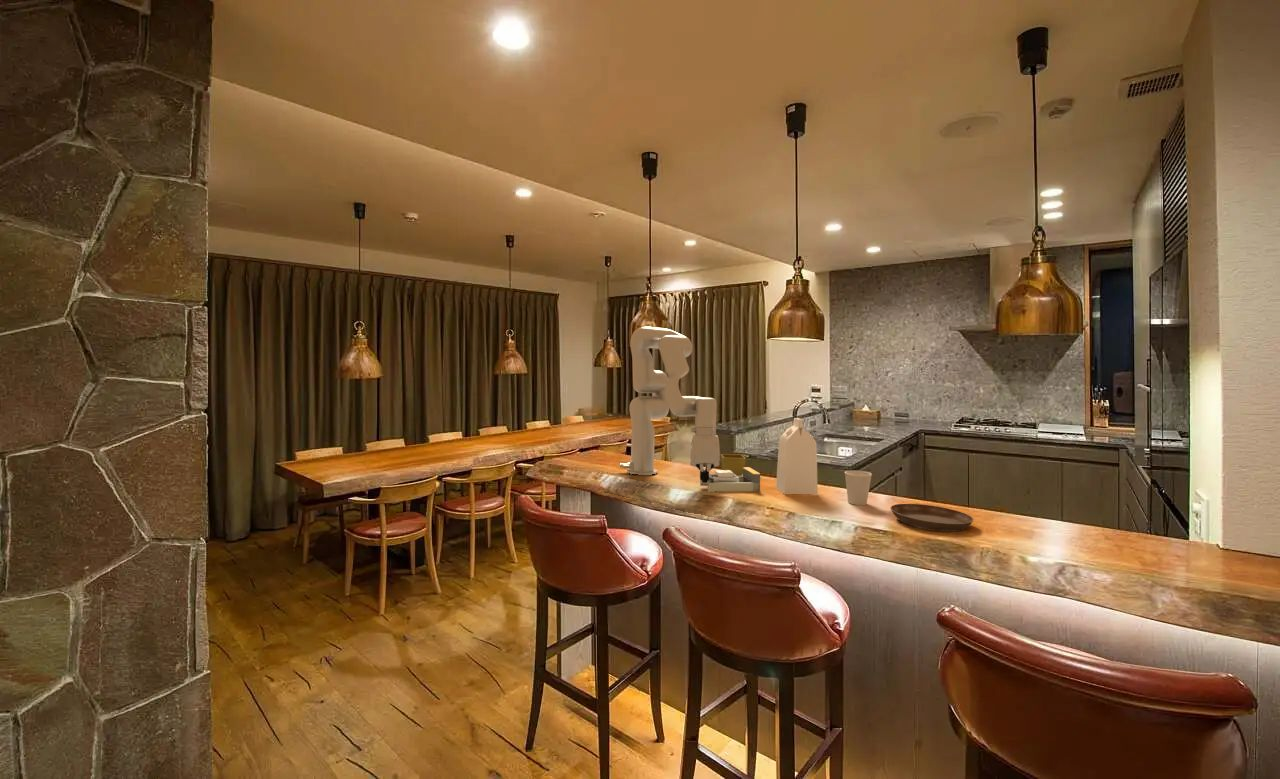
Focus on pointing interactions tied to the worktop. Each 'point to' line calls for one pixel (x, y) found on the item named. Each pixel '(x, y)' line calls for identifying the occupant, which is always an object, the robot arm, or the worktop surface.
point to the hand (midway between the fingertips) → (704, 481)
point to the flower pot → (733, 463)
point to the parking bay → (746, 482)
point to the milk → (797, 461)
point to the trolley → (723, 476)
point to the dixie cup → (857, 486)
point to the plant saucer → (931, 517)
